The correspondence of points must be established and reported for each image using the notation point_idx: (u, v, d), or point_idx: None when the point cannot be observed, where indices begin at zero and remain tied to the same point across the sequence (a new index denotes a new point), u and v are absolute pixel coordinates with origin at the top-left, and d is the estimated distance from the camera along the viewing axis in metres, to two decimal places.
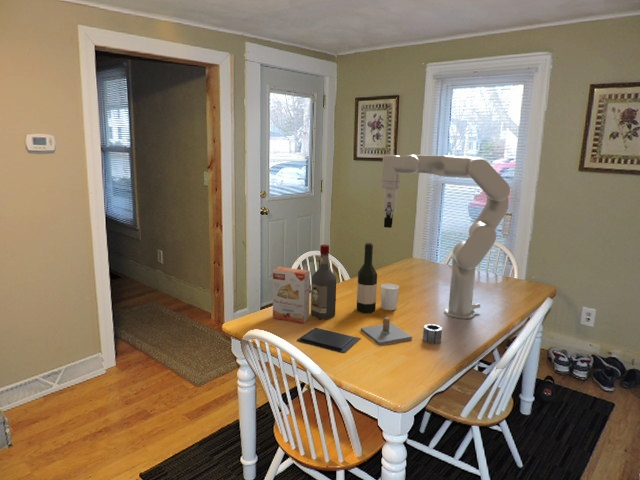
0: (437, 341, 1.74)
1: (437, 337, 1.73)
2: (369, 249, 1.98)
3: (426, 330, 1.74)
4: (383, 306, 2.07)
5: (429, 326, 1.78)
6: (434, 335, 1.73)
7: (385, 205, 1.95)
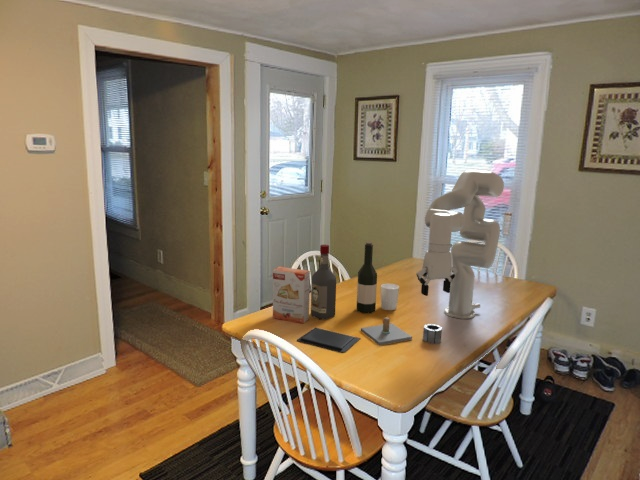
0: (437, 341, 1.74)
1: (437, 337, 1.73)
2: (369, 249, 1.98)
3: (426, 330, 1.74)
4: (383, 306, 2.07)
5: (429, 326, 1.78)
6: (434, 335, 1.73)
7: None
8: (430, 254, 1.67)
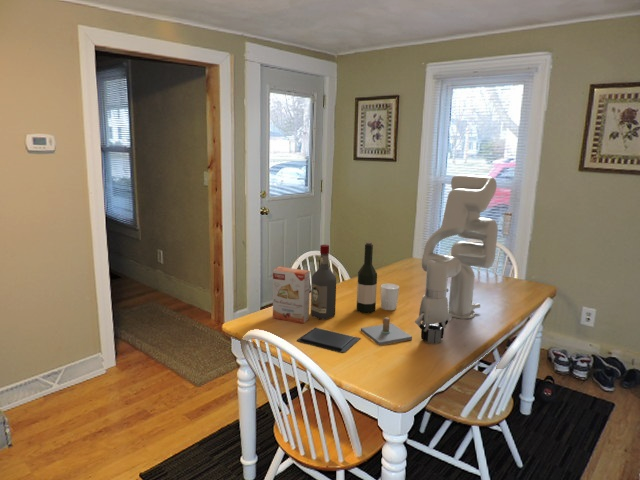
0: (437, 341, 1.74)
1: (437, 337, 1.73)
2: (369, 249, 1.98)
3: None
4: (383, 306, 2.07)
5: (429, 326, 1.78)
6: (434, 335, 1.73)
7: None
8: (427, 300, 1.71)
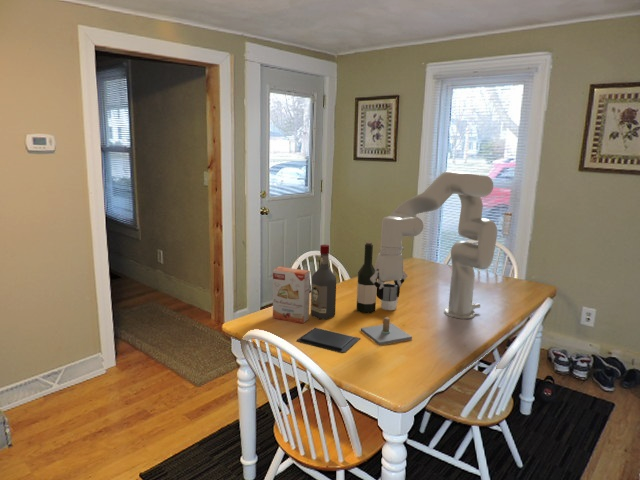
0: (392, 299, 1.74)
1: (392, 294, 1.73)
2: (369, 249, 1.98)
3: None
4: (383, 306, 2.07)
5: (385, 285, 1.78)
6: (389, 293, 1.73)
7: None
8: (381, 257, 1.71)
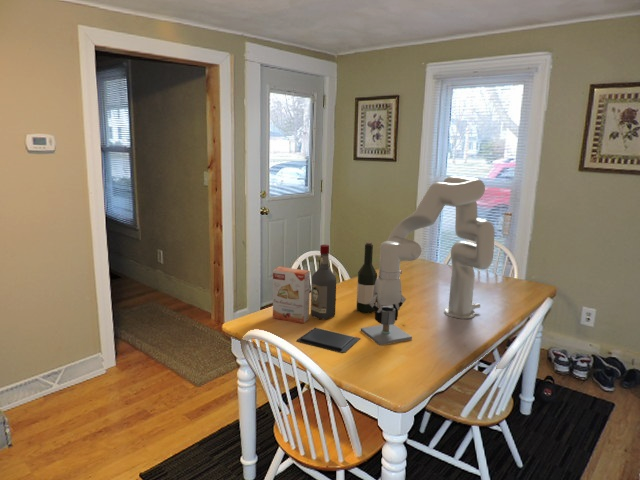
0: (390, 322, 1.76)
1: (391, 318, 1.75)
2: (369, 249, 1.98)
3: (380, 311, 1.76)
4: None
5: (384, 308, 1.80)
6: (387, 316, 1.75)
7: None
8: (380, 281, 1.73)
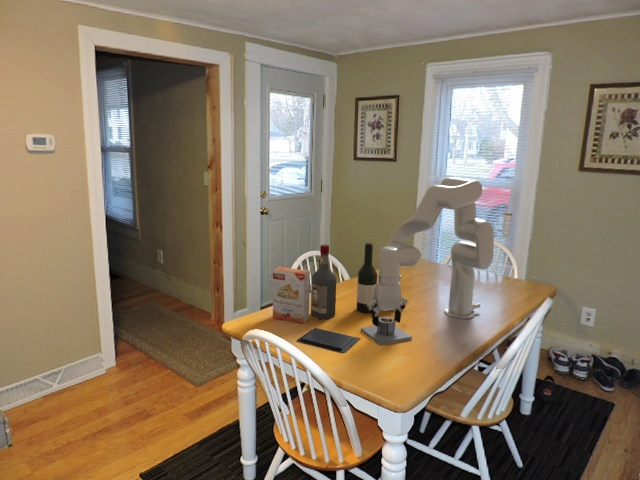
0: (390, 333, 1.77)
1: (390, 329, 1.76)
2: (369, 249, 1.98)
3: (379, 322, 1.77)
4: None
5: None
6: (387, 327, 1.76)
7: None
8: (379, 286, 1.73)
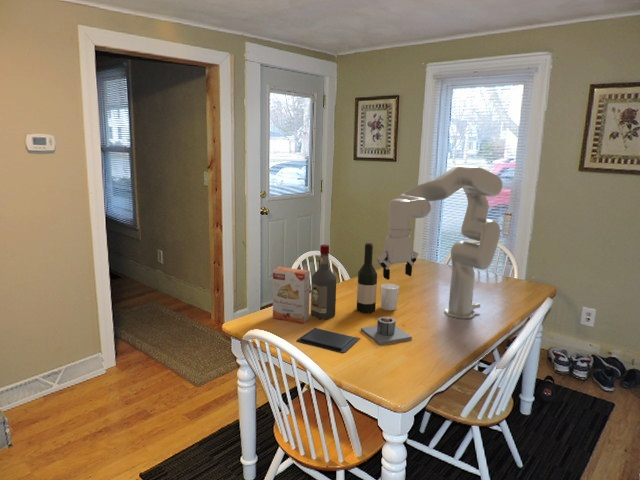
0: (390, 333, 1.77)
1: (390, 329, 1.76)
2: (369, 249, 1.98)
3: (379, 322, 1.77)
4: (383, 306, 2.07)
5: None
6: (387, 327, 1.76)
7: None
8: (390, 239, 1.72)
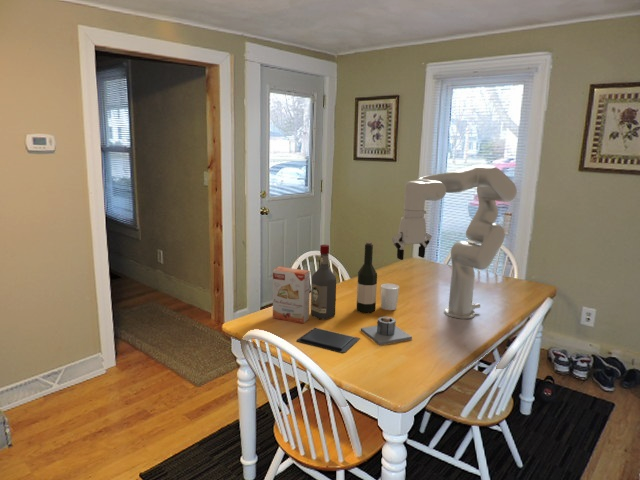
0: (390, 333, 1.77)
1: (390, 329, 1.76)
2: (369, 249, 1.98)
3: (379, 322, 1.77)
4: (383, 306, 2.07)
5: None
6: (387, 327, 1.76)
7: None
8: (405, 220, 1.77)
